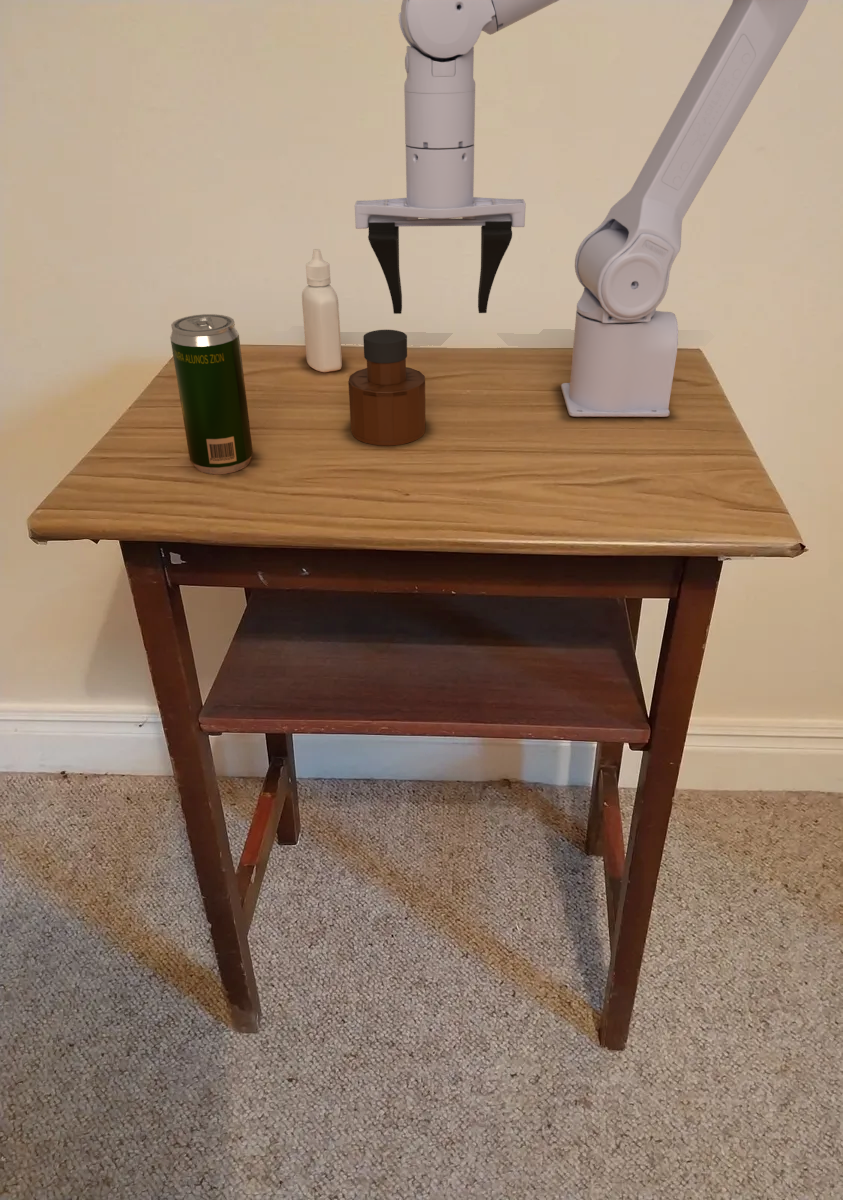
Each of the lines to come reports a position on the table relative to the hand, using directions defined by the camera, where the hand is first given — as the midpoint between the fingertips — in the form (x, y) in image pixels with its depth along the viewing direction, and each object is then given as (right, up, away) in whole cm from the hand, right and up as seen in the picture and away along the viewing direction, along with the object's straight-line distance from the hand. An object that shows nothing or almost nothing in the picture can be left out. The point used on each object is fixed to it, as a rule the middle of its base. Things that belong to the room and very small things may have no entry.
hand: (440, 310), depth 83 cm
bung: (-5, -6, -2) cm, 8 cm away
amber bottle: (-5, -11, +1) cm, 12 cm away
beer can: (-19, -15, -4) cm, 24 cm away
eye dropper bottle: (-12, -1, +16) cm, 21 cm away
